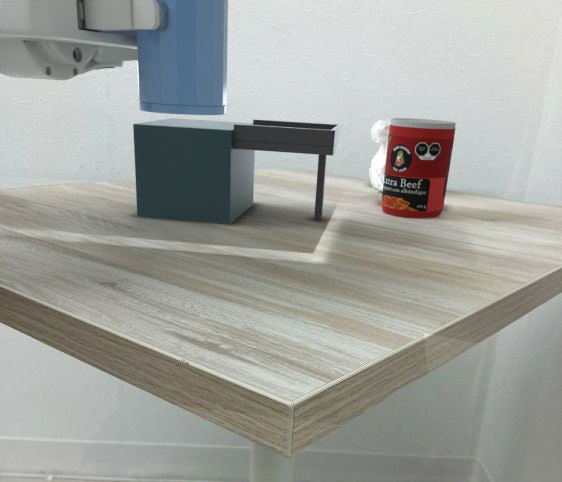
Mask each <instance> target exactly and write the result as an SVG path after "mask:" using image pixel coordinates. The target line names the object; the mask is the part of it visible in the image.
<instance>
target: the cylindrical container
mask: <svg viewBox="0 0 562 482" xmlns="http://www.w3.org/2000/svg"><path fill="white" fill-rule="evenodd" d="M160 1H163V2H164V3H165V4H166V6H167V14H166V17H167V27H166V29H165V30H163V31H147V30H136V36H137V60H136V61H137V83H138V86H137V88H138V101H139V102H138V106H139V111H142V112H147V113H155V114H169V115H183V116H185V115H186V116H187V115H188V116H224V115H226V114H227V105H228V104H227V103H228V102H227V101H228V44H229V43H228V38H229V37H228V35H229V32H228V31H229V0H160Z"/></svg>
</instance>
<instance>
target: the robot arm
mask: <svg viewBox="0 0 562 482" xmlns="http://www.w3.org/2000/svg"><path fill="white" fill-rule="evenodd" d="M166 14H167V6H166V4H165V3H164V2H163V1H160V0H0V74H1V75H3V76H6V77H11V78H18V79H19V78H20V79H33V80H49V81H50V80H51V81H67V80H71V79H74V78H75V77H76V76H79V75H83V74H86V73H89V72H91V71H96V70H103V69H115V68H123V67H124V66H125V62H131V61H132V62H133V61H137V36H136V30H147V31H163V30H165V29H166V27H167V17H166Z"/></svg>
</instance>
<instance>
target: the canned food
mask: <svg viewBox="0 0 562 482" xmlns="http://www.w3.org/2000/svg"><path fill="white" fill-rule="evenodd" d="M390 119H391V123H390V128H389V136H388V145H387V154H386V164H385V173H384V182H383V191H381V200H380V201H381V202H380V203H381V204H380V205H381V210H382V212H384V214H387V215H390V216H394V217H400V218H407V219H409V218H410V219H432V218H433V219H434V218H437V217H439V216H441V214H442V212H443V210H444V207H445V198H446V193H447V186H448V182H449V181H448V180H449V173H450V167H451V161H452V155H453V149H454V142H455V134H456V122H454V121H449V120H443V119H441V120H440V119H428V118H409V117H407V118H406V117H395V118H390Z"/></svg>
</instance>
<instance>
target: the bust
mask: <svg viewBox="0 0 562 482" xmlns="http://www.w3.org/2000/svg"><path fill="white" fill-rule="evenodd" d="M391 119H392V118H388V119H385V120H384V119H379V120H377V121H376V122H375V123H373V125H372V126H371V129H370V138H371V140H372V142H373V143H379V144H380V147H379V149H378V150H377V152H376V154H375V155H373V157H372V158H371V162H370V167H369V169H368V175H369V176H368V177H369V179H370V180H369V181H370V183H371V186H372V188H373V189H374V190H375V191H376V192H383V182H384V173H385V164H386V154H387V145H388V136H389V128H390V123H391Z"/></svg>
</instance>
